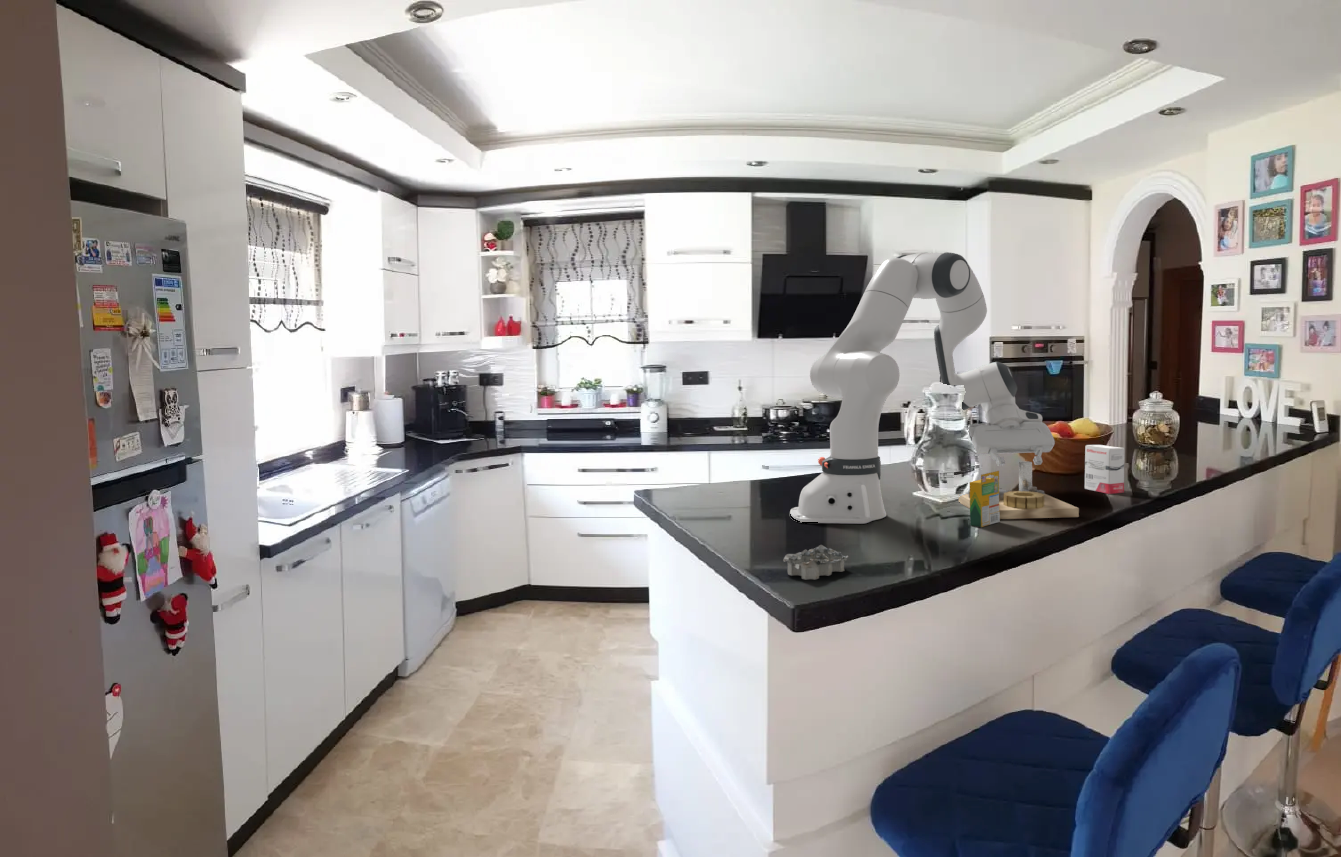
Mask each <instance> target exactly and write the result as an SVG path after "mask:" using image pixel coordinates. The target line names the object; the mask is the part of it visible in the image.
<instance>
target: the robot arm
mask: <svg viewBox="0 0 1341 857" xmlns="http://www.w3.org/2000/svg"><path fill="white" fill-rule="evenodd" d="M976 276H977V275H976V274H975V273H974V271H973V269H972V268H971V266H970V265H969V263H968V262H967V260H966V259H965V258H964V257H963V255H961V254H958V253H954V252H947V251H946V252H944V253H942V252H917V253H913V254H912V253H911V254H902V255H899V256H896V257H891V258H887V259H886V260H884V261H883V262H882V263H881V264H880V265H879V267H878V268H877V270H875V272H874V274H873V276H872V278H871V279H870V281H869V283H868V284H867V286H866V288H865V290H864V292H863V295H862V297H861V298H860V301H859V304H858V305H857V307H856V310H855V312H854V313H853V316H852V317H851V320H850V321H849V323H848V324H847V326H846V328H844V330H843V331H842V332H841V334H840V335H839V337H837V339H836V340H835V342H834V343H833V344H832V345H831V346H830V347H829V349H827V351H825V352H824V353H823V354H822V355H820V356H819V357H817V358H816V359H815V360H814V362H813V363H812V365H811V367H810V371H809V377H810V383H811V385H812V386H813V388H814V389H815V390H816V391H818V393H819V392H820V394H823V395H827V396H830V397H832V398H842V399H841V404H840V407H839V411H838V413H837V415H836V417H835V418H834V419H833V420H832V421H831V422H830V425H829V444H830V445H829V448H830V449H829V450H830V451H829V454H830V456H828V457H826V458H825V457H824V456H821V457H819V458H818V459H817V463H818V464H819V465H820V466H821V471H822V472H821V473H820V474H819V475H818V476H816V477H815V478H813V480H811V481H810V482H808V483H807V484H806V485H805V486H804V487H803V488H802V489H801V491H800V494H799V498H798V506H795V507H792V508H791V509H790V511H789V515H790V514H791V516H792V517H793V518H794V519H796V520H798V521H800V522H799V523H802V522H818V523H817V524H861V525H863V524H867V523H870V522H872V521H877V520H881V519H883V518H885V517H887V512H886V510H885V506H884V501H883V497H882V491H881V490H882V489H881V482H880V480H881V477H882V462H881V461H882V460H881V456H879V427H880V426H879V424H880V418H881V414H882V411H883V409H884V405H885V403H886V401H887V399H888V397H889V396H890V395H891V394H892V393H893V392H894V391H895V389H896V388H897V387H898V385H899V383H900V382H899V381H900V374H901V373H900V368H899V366H898V363H897V361H896V359H894V357H892V356H890V355H889V354H887V353H882V352H881V351H883V350H884V349H885V348H887V347H888V346H890V345H891V344H892V343H893V342H894V341H895V339H896V338H897V336H898V333H899V331H900V329H901V326H902V324H903V323H904V320H905V317H906V316H907V314H908V311H909V309H910V306H911V305H912V304H911V303H912V301H913V299H921V300H930V299H932V300H933V299H935V301H936V304H937V307H938V309H939V315H940V319H939V322H938V325H937V326H936V327H935V328H934V329H933V330H934V331H933V332H934V333H933V337H934V338H933V340H934V346H935V354H936V360H937V365H938V371H939V375H940V382H941V383H943V384H947V385H964V388H965V391H966V393H965V395H964V400H963V402H962V409H963V410H964V411H966V410H969V409H971V408H973V407H975V406H978V405H980V406H981V409H982V410H983V411H984V414H985V416H984V417H985V421H986V422H985V423H983V422H982V423H972V425H969V426H968V428H969V431H968V434H969V436H970V437H971V444H972V443H973V445H974V448H975V449H976V451H977V453H976V454H977V455H989V457H990V458H991V459H992V460H993V461H994V462H995V464H996V466H997V467H1004V466H1005V464H1006V461H1005V458H1004V456H1001V455H999V454H1004V455H1005V454H1025V453H1026V454H1029V453H1034V458H1033V459H1032V461H1033V462H1032V463H1033V464H1034V465H1037V466H1038V465H1042V463H1043V458H1042V454H1043V453H1050V452H1052V449H1053V447H1054V446H1055V444H1056V443H1055V442H1056V440H1055V438H1054V436H1053V434H1052V432H1051V430H1050V428H1049V427H1048V425H1047V424H1046V423H1045V422H1043V415H1042V414H1040V413H1037V412H1033V411H1028V410H1024V409H1021V408H1019V406H1018V405H1017V404H1016V397H1015V396H1016V394H1017V391H1018V386H1017V383H1016V381H1015V380H1014V376H1013V373H1012V370H1011V368H1010V367H1009V365H1007V364H1005V363H1003V362H999V361H995V362H994V361H993V362H991V363H990V362H989V363H987V364H984V365H981V366H978V367H976V368H972V369H971V370H967V371H963V372H962V373H956V370H955V368H956V367H955V363H954V362H955V361H954V357H953V353H954V350H955V349H956V348H957V347H958V346H959V345H960V343H962V342H963V341H964V340H965V339H967V338H969V336H971V335H972V334H973V333H975V332H976V331H977V330H978V329H979V328H980V327H981V325H983V323H984V321H985V319H986V316H987V312H988V308H987V303H986V298H985V295H984V293H983V289H982V287H981V285H980V282H979V280H978V278H977V277H976ZM941 383H940V384H941ZM973 445H972V446H973Z"/></svg>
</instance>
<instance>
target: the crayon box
mask: <svg viewBox="0 0 1341 857" xmlns="http://www.w3.org/2000/svg"><path fill="white" fill-rule="evenodd" d="M989 476H992V477H989ZM999 488H1000V470H995V471H991V472H987V473H982V474H980V479H978V480H973V481H970V482H969V492H970V509H969V520H970V521H969V525H970V527H977V528H984V527H987V526H990V525H993V524H997V523H1000V522H1001V521H1000V520H1001V519H1000V512H999Z"/></svg>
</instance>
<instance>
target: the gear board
mask: <svg viewBox="0 0 1341 857" xmlns="http://www.w3.org/2000/svg"><path fill="white" fill-rule="evenodd" d="M964 494H965V495H962V496H960V497H959V496H958V503H959V502H960V503H959V504H961V505H963V506H964V507H966V508H968V510H970V491H968V493H964ZM999 512H1000V520H1014V519H1015V520H1016V519H1023V520H1024V519H1048V518H1049V519H1052V518H1053V519H1055V518H1056V519H1057V518H1059V519H1060V518H1079V517H1080V515H1079V513H1080V508H1079V507H1077V506H1074V505H1072V504H1070V503H1068V502H1065V501H1063V500H1060V499H1058V498H1055V496H1054V497H1053V496H1051V495H1049V494H1046V493H1045V490H1042V489H1038V487H1037V486H1034V485H1032V486H1031V487H1029V489H1026V490H1022V491H1019V490H1010V489H1009V490H1007V489H1003V488H1000V487H999Z"/></svg>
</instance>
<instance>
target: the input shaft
mask: <svg viewBox="0 0 1341 857" xmlns="http://www.w3.org/2000/svg"><path fill="white" fill-rule="evenodd" d="M1031 486H1033V462H1032V461H1026V460H1024V461H1018V491H1022V490H1026V489H1029V487H1031Z"/></svg>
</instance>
